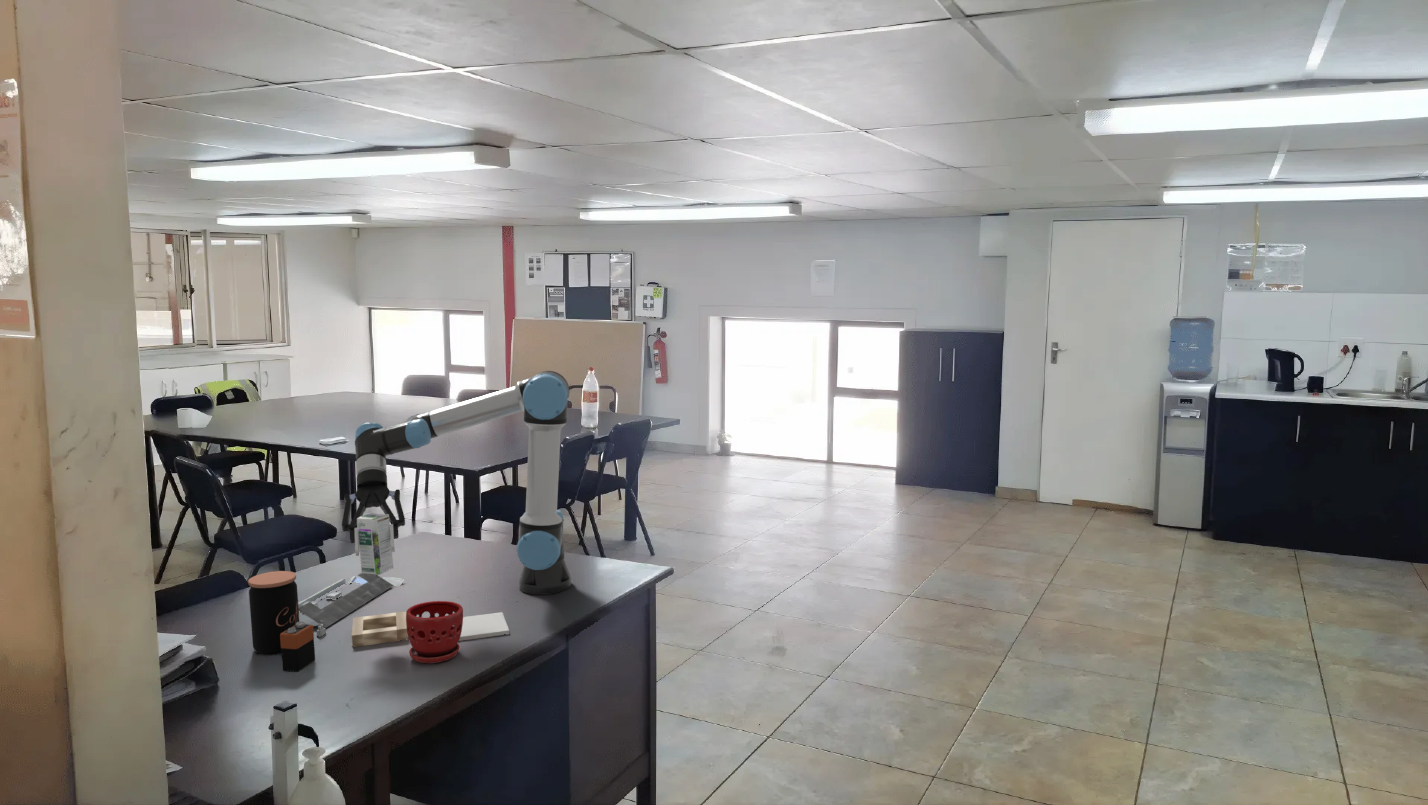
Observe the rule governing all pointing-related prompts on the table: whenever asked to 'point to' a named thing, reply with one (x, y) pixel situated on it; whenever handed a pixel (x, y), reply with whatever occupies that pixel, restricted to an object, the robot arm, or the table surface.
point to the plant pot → (434, 631)
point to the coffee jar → (272, 609)
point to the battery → (297, 647)
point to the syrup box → (375, 543)
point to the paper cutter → (345, 599)
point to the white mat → (483, 626)
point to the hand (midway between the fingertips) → (375, 551)
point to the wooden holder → (379, 629)
